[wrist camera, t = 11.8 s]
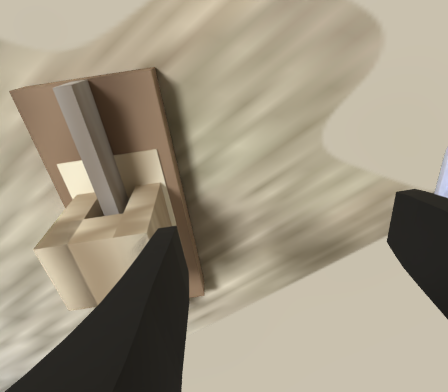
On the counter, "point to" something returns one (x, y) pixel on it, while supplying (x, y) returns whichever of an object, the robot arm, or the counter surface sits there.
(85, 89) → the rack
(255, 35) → the counter surface
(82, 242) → the clip
